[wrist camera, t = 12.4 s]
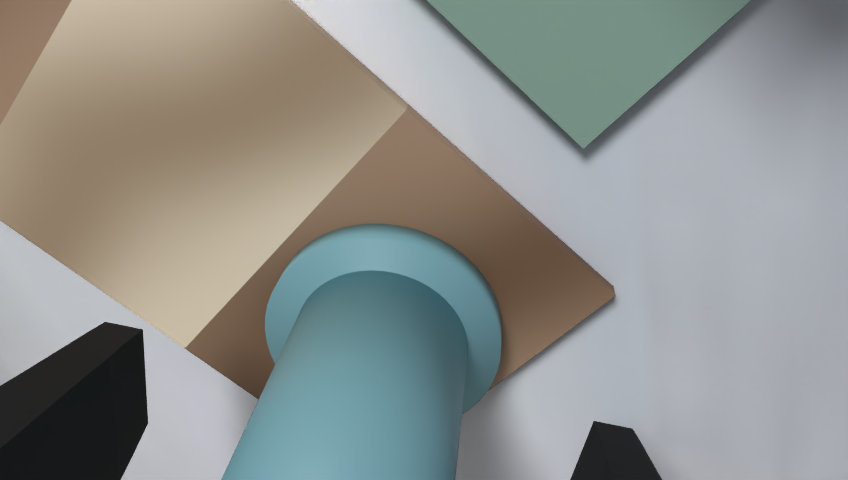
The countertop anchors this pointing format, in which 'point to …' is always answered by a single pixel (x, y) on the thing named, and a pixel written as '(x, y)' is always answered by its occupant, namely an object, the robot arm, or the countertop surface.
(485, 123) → the countertop surface
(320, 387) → the pawn
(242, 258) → the track
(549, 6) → the felt pad
